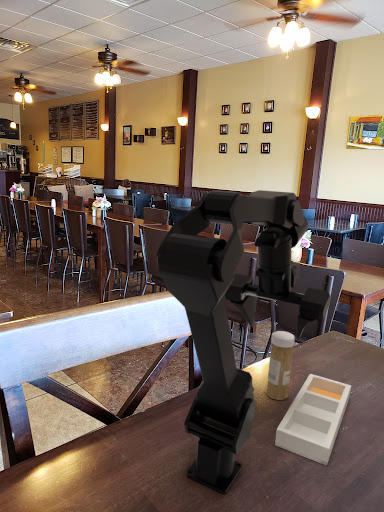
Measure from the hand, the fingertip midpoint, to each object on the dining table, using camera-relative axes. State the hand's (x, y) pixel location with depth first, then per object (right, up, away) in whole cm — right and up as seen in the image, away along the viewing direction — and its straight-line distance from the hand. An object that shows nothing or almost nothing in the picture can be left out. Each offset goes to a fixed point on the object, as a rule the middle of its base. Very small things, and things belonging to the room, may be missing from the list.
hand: (275, 331), depth 75 cm
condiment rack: (+7, -16, -2) cm, 18 cm away
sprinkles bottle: (+2, -15, +6) cm, 16 cm away
